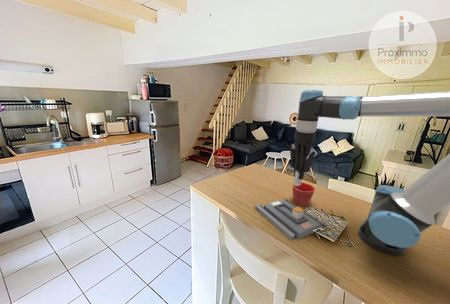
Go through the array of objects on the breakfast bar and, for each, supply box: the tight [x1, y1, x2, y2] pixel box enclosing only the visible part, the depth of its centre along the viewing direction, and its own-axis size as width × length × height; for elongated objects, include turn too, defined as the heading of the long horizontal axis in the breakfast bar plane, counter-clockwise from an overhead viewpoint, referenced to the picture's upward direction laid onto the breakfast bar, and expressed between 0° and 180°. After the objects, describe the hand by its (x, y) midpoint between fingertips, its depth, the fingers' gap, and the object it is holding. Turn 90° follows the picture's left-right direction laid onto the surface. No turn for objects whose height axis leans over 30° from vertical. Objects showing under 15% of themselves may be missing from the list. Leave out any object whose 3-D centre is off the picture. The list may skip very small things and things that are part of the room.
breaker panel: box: [263, 198, 321, 240], centre depth 86 cm, size 22×13×4 cm, turn 28°
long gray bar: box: [284, 198, 327, 229], centre depth 90 cm, size 24×3×2 cm, turn 27°
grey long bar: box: [254, 204, 297, 240], centre depth 84 cm, size 24×3×2 cm, turn 28°
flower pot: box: [292, 181, 315, 207], centre depth 99 cm, size 11×11×10 cm
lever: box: [292, 206, 305, 221], centre depth 82 cm, size 3×3×5 cm
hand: (297, 185), depth 80 cm, fingers closed
